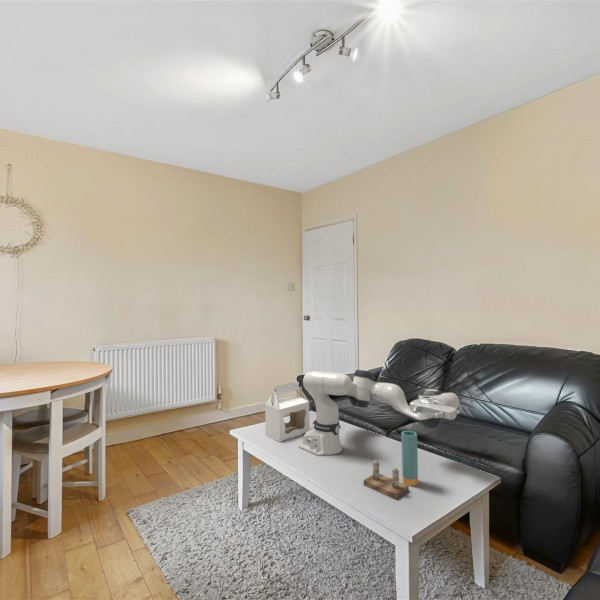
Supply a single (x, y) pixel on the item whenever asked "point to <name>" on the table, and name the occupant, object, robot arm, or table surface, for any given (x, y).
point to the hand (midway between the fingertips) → (424, 413)
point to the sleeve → (409, 458)
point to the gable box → (278, 409)
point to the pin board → (386, 483)
